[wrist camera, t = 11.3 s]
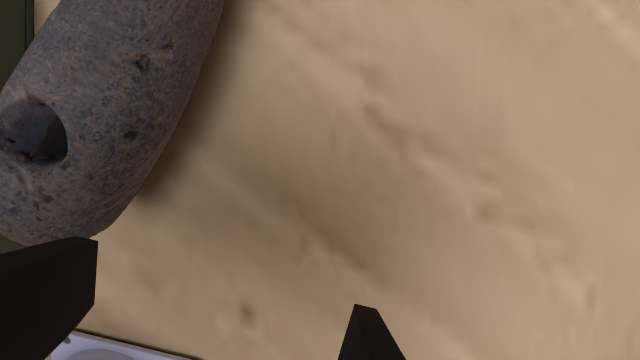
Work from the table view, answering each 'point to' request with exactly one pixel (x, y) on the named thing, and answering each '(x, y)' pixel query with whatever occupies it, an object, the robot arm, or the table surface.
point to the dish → (13, 58)
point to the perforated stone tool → (95, 110)
